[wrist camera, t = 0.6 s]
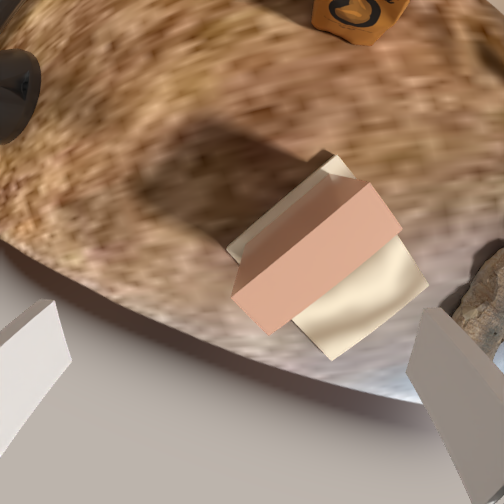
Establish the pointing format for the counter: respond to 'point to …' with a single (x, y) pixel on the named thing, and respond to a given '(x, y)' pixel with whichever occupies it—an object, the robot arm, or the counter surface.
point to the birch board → (348, 281)
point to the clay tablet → (485, 306)
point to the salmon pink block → (311, 249)
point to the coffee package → (357, 18)
